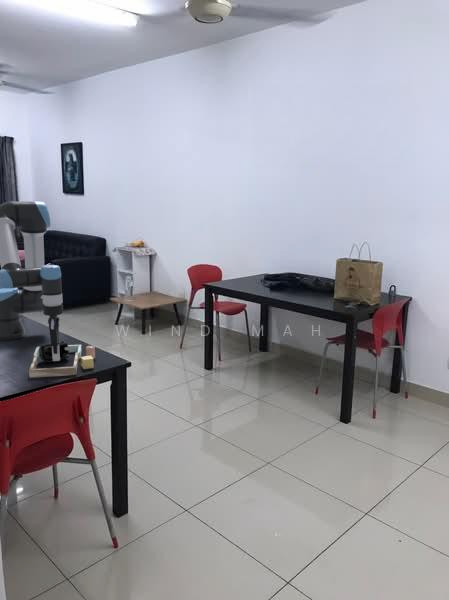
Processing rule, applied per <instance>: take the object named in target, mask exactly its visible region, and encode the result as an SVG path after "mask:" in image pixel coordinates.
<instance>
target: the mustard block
mask: <svg viewBox="0 0 449 600" xmlns="http://www.w3.org/2000/svg"><path fill="white" fill-rule="evenodd" d="M80 363H81V364H80V365H81V368H82V369H83V370H88V369H94V365H95V363H94V359H93V358H92V356H86V355H84V356H81V358H80Z"/></svg>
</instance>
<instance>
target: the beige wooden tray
mask: <svg viewBox="0 0 449 600" xmlns="http://www.w3.org/2000/svg"><path fill="white" fill-rule="evenodd" d="M79 361H80V359H79V358H78V352H75V356H74V360H73V366H62V367H61V366H60V367H47V368H46V367H44V368H37V366H38V364H39V357H38V355H35V357H34V356H33V360H32V362H31V364H30V367H29V369H28V374H29V379H31V378H32V379H33V378H45V377H46V378H47V377H48V378H51V377H62V376H63V377H65V376H75V375H77V373H78V371H77V370H78V366H79Z"/></svg>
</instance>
